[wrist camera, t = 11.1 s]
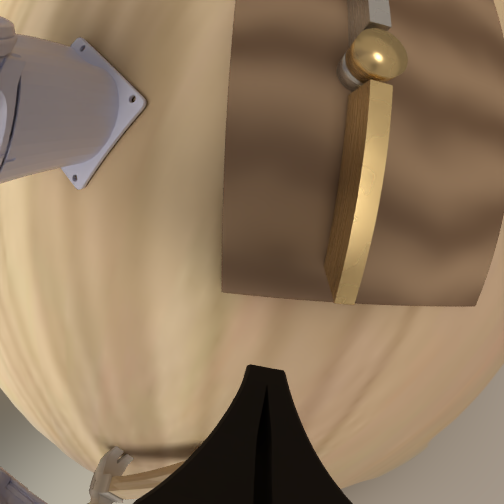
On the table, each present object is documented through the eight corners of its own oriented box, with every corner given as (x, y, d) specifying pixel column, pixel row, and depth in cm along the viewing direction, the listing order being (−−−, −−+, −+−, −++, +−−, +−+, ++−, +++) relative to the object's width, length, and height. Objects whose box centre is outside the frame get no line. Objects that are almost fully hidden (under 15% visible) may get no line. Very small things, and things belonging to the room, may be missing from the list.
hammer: (249, 509, 16) (77, 515, 18) (273, 517, 18) (101, 527, 19) (238, 403, 31) (98, 448, 33) (257, 420, 33) (117, 462, 34)
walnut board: (247, -74, 8) (245, -80, 7) (484, -9, 6) (489, -12, 6) (224, 286, 18) (221, 292, 18) (470, 301, 17) (475, 306, 16)
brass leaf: (338, 49, 11) (355, 22, 8) (379, 59, 11) (406, 37, 7) (312, 265, 16) (319, 301, 12) (350, 270, 16) (367, 306, 12)
